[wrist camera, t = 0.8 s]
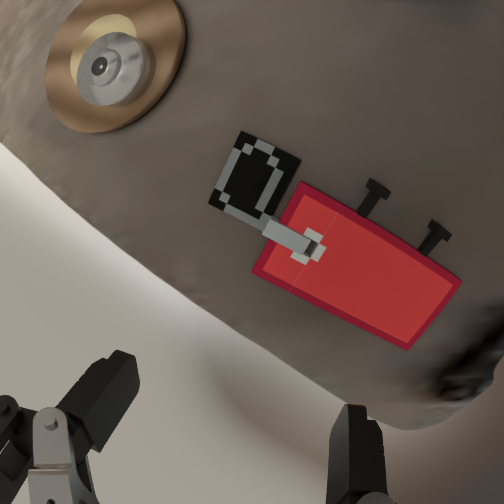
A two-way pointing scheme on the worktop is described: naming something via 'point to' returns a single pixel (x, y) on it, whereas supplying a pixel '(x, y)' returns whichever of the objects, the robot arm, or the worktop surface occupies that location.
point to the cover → (115, 70)
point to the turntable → (91, 28)
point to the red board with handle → (334, 247)
